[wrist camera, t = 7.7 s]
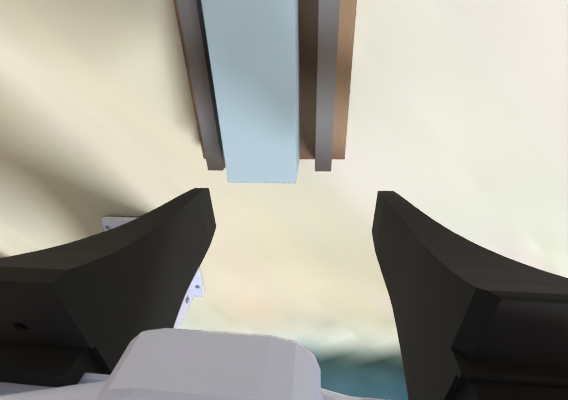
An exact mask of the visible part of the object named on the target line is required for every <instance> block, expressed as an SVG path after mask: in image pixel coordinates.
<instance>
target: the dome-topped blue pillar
mask: <svg viewBox="0 0 568 400" xmlns="http://www.w3.org/2000/svg"><path fill="white" fill-rule="evenodd" d="M201 3H202V9H203V16H204V23H205V30H206V36H207V43H208V50H209V57H210V63H211V70H212V77H213V84H214V90H215V97H216V104H217V111H218V117H219V124H220V131H221V138H222V144H223V151H224V158H225V165H226V171H227V178H228V182H232V183H294V184H296V180H297V173H298V165H299V158H300V137H299V0H201Z"/></svg>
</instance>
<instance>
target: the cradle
mask: <svg viewBox="0 0 568 400" xmlns="http://www.w3.org/2000/svg"><path fill="white" fill-rule="evenodd" d="M174 4H175V10H176V15H177V20H178V25H179V31H180V36H181V41H182V46H183V52H184V57H185V62H186V67H187V73H188V78H189V83H190V88H191V94H192V99H193V104H194V109H195V115H196V120H197V125H198V130H199V136H200V141H201V146H202V151H203V157H204V159H206V161H207V167H208V170H223V169H224V168H225V167H226V165H225V158H224V151H223V144H222V138H221V131H220V124H219V117H218V111H217V104H216V97H215V90H214V84H213V77H212V70H211V63H210V57H209V50H208V43H207V36H206V30H205V23H204V16H203V9H202V3H201V0H174ZM356 4H357V0H299V137H300V158H299V159H315V171H331V162H332V159H345V146H346V133H347V120H348V107H349V94H350V81H351V68H352V55H353V43H354V30H355V17H356Z"/></svg>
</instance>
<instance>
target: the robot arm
mask: <svg viewBox="0 0 568 400" xmlns="http://www.w3.org/2000/svg"><path fill="white" fill-rule="evenodd" d="M101 224H102V226H103V228H104V231H105V232H102V233H99V234H96V235H93V236H90V237H87V238H84V239H81V240H78V241H74V242H71V243H67V244H64V245H60V246H56V247H52V248H48V249H44V250H39V251H34V252H30V253H25V254H20V255H15V256H10V257H5V258H0V400H384V399H373V398H362V397H350V396H347V395H343V394H340V393H336V392H332V391H329V390H325V389H322V388H321V379H320V368H319V365H318V363H317V360H316V358H315V356H314V355H313V354H312V353H311V352H310V351H308V350H307V349H305V348H304V347H302V346H301V345H299V344H298V343H296V342H295V341H293V340H289V339H284V338H280V337H276V336H272V335H258V334H244V333H230V332H216V331H201V330H187V329H180V326H181V324H182V322H183V320H184V318H185V316H186V313H187V311H188V309H189V307H190V305H191V303H192V301H193V298H194V296H196V297H202V296H203V295H204V293H205V290H204V286H203V282H202V278H201V274H200V270H199V266H200V264H201V262H202V261H203V259H204V257H205V255H206V253H207V251H208V248H209V246H210V244H211V241H212V238H213V235H214V232H215V229H216V223H215V218H214V213H213V208H212V203H211V197H210V192H209V188H194V189H192V190H190V191H188V192H186V193H184V194H182V195H180V196H178V197H176V198H175V199H173V200H171V201H169V202H167V203H165V204H164V205H162V206H160V207H158V208H156V209H154V210H152V211H150V212H148V213H146V214H144V215H142V216H140V217H139V218H137V217H104V218H103V219H102V220H101ZM372 235H373V241H374V247H375V252H376V256H377V259H378V262H379V265H380V268H381V271H382V274H383V278H384V281H385V284H386V287H387V290H388V293H389V296H390V300H391V304H392V307H393V312H394V317H395V322H396V327H397V332H398V338H399V343H400V349H401V354H402V360H403V367H404V373H405V379H406V385H407V392H408V399H409V400H568V278H565V277H562V276H559V275H555V274H552V273H549V272H545V271H542V270H539V269H537V268H534V267H531V266H528V265H525V264H522V263H520V262H517V261H514V260H512V259H509V258H507V257H504V256H502V255H499V254H497V253H495V252H492V251H490V250H488V249H486V248H483V247H481V246H479V245H477V244H475V243H473V242H471V241H469V240H467V239H465V238H463V237H461V236H459V235H458V234H456V233H454V232H452V231H450V230H449V229H447V228H445V227H444V226H442V225H441V224H439V223H438V222H436V221H434V220H433V219H431V218H430V217H429V216H427V215H426V214H424V213H423V212H421V211H420V210H419V209H417V208H416V207H415V206H413V205H412V204H411V203H409V202H408V201H407V200H405V199H404V198H403V197H401V196H400V195H399V194H397V193H396V192H394V191H378V194H377V201H376V208H375V214H374V221H373V228H372Z"/></svg>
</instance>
